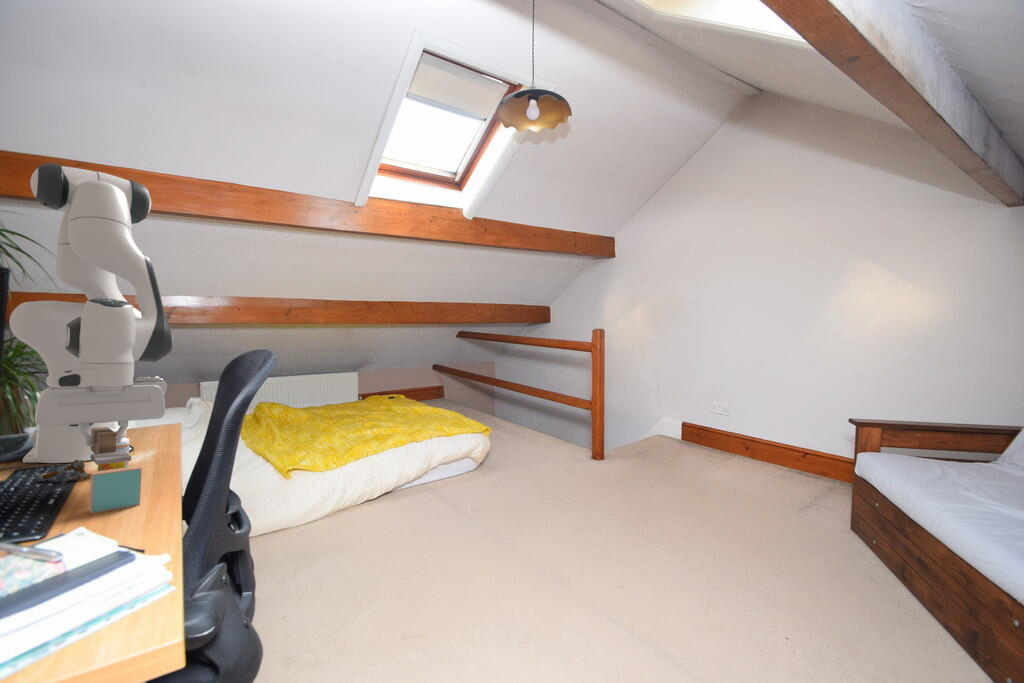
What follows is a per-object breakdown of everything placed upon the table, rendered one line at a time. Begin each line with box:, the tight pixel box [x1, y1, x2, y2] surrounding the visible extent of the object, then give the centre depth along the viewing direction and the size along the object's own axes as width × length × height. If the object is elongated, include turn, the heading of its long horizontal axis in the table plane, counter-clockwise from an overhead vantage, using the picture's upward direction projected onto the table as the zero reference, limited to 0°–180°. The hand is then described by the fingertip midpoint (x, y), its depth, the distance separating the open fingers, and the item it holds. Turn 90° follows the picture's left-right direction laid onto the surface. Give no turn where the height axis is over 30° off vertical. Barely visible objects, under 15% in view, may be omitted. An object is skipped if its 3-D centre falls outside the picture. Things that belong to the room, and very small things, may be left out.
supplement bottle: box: [97, 427, 131, 471], centre depth 109 cm, size 5×5×10 cm
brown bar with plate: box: [90, 427, 132, 466], centre depth 95 cm, size 17×5×4 cm, turn 49°
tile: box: [88, 465, 143, 515], centre depth 87 cm, size 2×7×7 cm, turn 139°
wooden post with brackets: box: [37, 460, 89, 481], centre depth 101 cm, size 2×8×4 cm, turn 105°
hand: (102, 444), depth 97 cm, fingers closed on brown bar with plate, 2 cm apart
